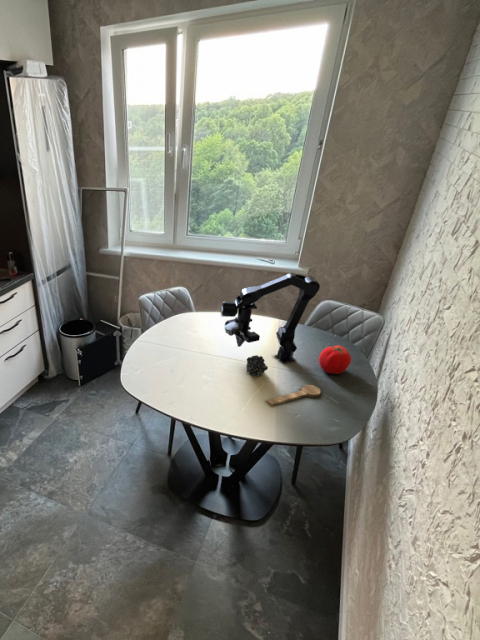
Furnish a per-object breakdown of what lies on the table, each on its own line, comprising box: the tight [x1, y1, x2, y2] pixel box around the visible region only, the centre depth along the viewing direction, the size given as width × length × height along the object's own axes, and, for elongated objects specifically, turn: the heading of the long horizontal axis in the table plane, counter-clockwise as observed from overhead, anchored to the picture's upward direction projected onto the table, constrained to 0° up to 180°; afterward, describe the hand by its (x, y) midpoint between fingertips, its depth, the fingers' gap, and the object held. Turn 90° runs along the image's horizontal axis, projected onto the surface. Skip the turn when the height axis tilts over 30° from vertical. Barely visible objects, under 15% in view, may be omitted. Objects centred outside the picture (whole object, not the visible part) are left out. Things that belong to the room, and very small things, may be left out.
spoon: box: [267, 384, 322, 407], centre depth 164 cm, size 24×7×1 cm, turn 109°
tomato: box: [318, 344, 352, 375], centre depth 176 cm, size 12×13×12 cm
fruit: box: [246, 354, 269, 377], centre depth 179 cm, size 9×8×15 cm
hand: (239, 346), depth 189 cm, fingers closed
